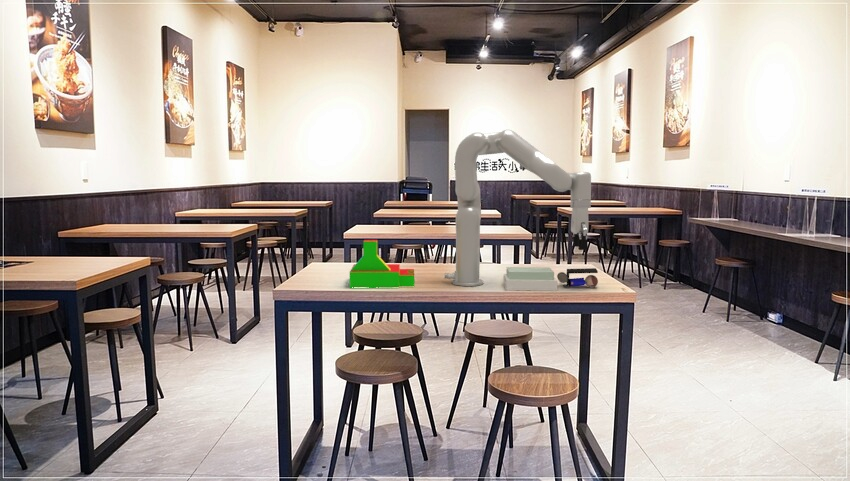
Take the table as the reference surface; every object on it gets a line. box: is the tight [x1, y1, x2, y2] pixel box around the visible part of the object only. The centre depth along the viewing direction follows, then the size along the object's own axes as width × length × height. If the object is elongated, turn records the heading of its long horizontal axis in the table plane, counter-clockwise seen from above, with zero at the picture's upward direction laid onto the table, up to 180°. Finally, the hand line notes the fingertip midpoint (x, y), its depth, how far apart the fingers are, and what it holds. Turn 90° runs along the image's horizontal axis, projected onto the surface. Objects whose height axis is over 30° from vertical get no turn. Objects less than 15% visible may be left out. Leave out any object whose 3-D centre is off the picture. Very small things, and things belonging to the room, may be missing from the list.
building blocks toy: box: [349, 239, 415, 289], centre depth 233 cm, size 19×25×18 cm
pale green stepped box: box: [503, 266, 558, 292], centre depth 227 cm, size 19×13×7 cm
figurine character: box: [556, 267, 599, 289], centre depth 228 cm, size 7×8×15 cm
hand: (580, 248), depth 226 cm, fingers open, 9 cm apart
